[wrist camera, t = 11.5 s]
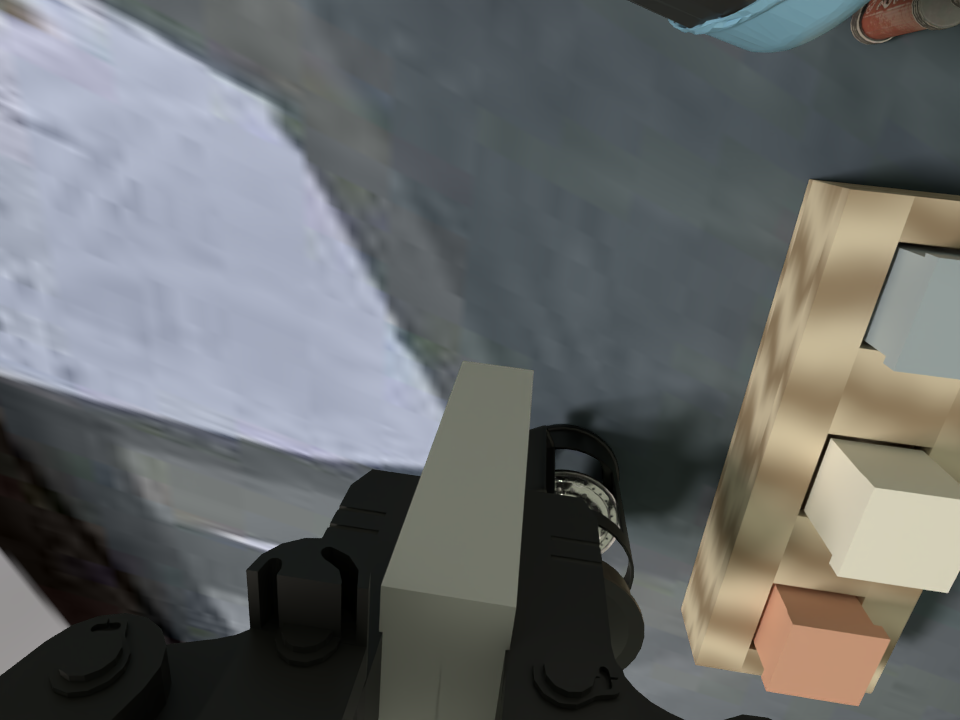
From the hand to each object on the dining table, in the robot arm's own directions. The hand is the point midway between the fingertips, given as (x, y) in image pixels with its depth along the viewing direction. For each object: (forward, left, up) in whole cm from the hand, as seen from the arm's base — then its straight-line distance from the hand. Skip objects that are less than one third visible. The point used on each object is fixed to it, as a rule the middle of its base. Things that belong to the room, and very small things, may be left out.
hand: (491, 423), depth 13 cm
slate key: (+2, +25, -29) cm, 38 cm away
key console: (+15, +25, -32) cm, 44 cm away
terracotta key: (+28, +25, -29) cm, 47 cm away
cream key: (+15, +25, -27) cm, 39 cm away
